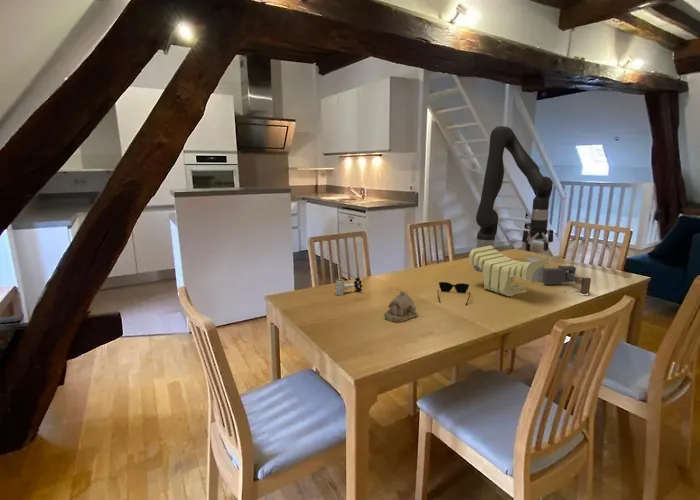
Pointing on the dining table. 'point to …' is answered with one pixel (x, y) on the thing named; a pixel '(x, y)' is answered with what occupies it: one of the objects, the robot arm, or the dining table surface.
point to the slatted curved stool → (502, 270)
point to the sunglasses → (458, 287)
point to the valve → (347, 286)
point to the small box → (539, 272)
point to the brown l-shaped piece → (580, 281)
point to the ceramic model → (401, 308)
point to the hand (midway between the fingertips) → (536, 250)
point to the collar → (557, 275)
